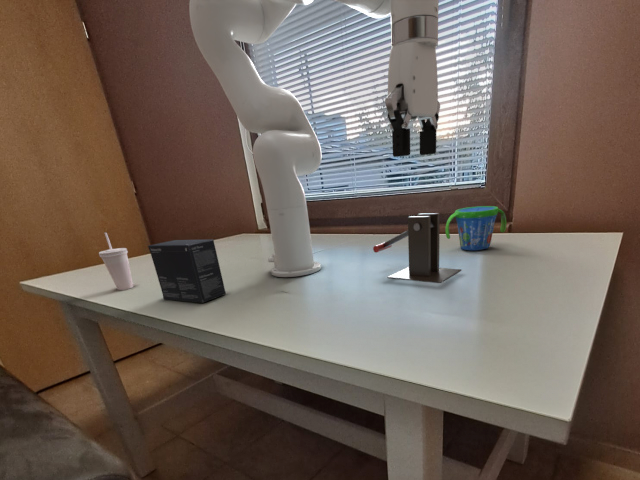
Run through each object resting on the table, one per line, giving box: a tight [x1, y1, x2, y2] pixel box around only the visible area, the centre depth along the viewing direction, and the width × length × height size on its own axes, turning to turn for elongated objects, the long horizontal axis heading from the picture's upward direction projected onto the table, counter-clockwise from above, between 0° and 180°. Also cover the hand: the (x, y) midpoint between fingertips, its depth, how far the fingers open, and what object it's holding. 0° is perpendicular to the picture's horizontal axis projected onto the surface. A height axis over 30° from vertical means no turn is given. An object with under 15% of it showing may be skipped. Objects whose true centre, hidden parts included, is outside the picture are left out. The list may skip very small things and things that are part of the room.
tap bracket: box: [387, 212, 462, 284], centre depth 77 cm, size 12×10×13 cm
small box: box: [147, 238, 227, 304], centre depth 81 cm, size 13×7×12 cm, turn 61°
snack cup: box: [444, 205, 507, 252], centre depth 99 cm, size 16×10×10 cm
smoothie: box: [98, 232, 134, 291], centre depth 95 cm, size 6×6×14 cm
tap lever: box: [372, 215, 434, 253], centre depth 79 cm, size 13×6×2 cm, turn 53°
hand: (415, 155), depth 69 cm, fingers open, 9 cm apart
